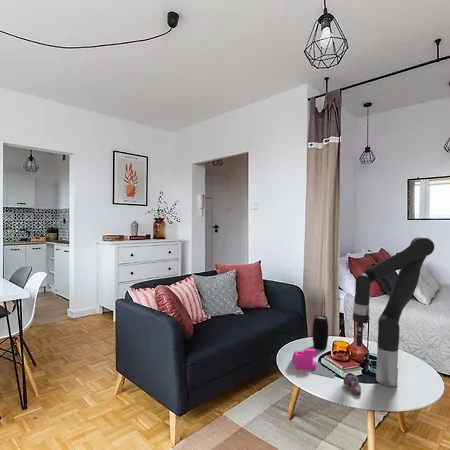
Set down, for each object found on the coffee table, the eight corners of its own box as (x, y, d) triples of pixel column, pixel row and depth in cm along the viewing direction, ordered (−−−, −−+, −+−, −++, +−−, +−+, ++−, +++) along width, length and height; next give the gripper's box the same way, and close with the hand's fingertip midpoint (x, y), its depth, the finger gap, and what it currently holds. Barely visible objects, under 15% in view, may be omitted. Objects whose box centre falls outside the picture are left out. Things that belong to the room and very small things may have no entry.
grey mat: (336, 366, 175) (336, 366, 175) (334, 378, 162) (334, 377, 162) (314, 362, 179) (314, 361, 179) (310, 373, 167) (310, 372, 167)
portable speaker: (310, 345, 203) (310, 314, 202) (323, 344, 204) (324, 314, 204) (316, 350, 194) (317, 319, 194) (330, 349, 196) (331, 318, 196)
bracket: (315, 369, 170) (315, 350, 170) (296, 369, 170) (296, 350, 170) (310, 359, 182) (310, 341, 182) (292, 359, 182) (292, 341, 182)
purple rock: (364, 397, 145) (365, 384, 145) (347, 396, 146) (347, 383, 146) (357, 384, 157) (358, 371, 157) (341, 382, 158) (342, 370, 158)
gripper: (369, 317, 155) (366, 350, 156) (369, 309, 168) (366, 339, 169) (352, 314, 158) (350, 346, 159) (353, 307, 171) (351, 337, 172)
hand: (358, 343), depth 164 cm, fingers open, 8 cm apart
